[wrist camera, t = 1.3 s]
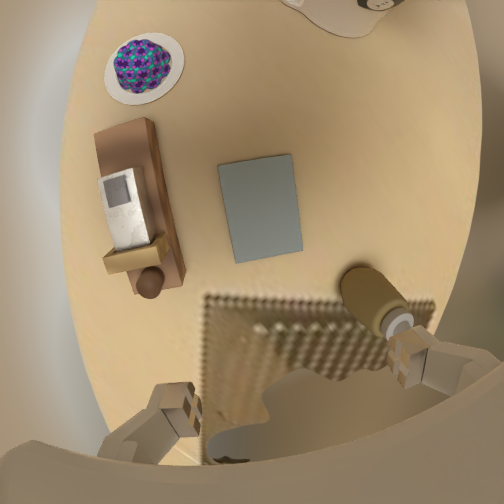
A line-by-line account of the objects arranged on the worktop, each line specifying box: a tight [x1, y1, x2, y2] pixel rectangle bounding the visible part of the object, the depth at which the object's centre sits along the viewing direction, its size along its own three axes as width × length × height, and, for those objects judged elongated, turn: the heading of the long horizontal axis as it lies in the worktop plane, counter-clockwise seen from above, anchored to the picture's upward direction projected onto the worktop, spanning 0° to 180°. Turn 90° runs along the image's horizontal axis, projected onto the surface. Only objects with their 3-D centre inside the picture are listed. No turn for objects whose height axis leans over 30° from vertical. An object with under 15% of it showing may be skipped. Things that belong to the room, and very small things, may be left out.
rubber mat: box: [218, 154, 303, 264], centre depth 37 cm, size 14×10×1 cm
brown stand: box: [94, 117, 186, 299], centre depth 31 cm, size 22×7×11 cm, turn 9°
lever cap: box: [97, 167, 158, 253], centre depth 29 cm, size 10×4×5 cm, turn 9°
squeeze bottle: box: [340, 267, 414, 340], centre depth 35 cm, size 8×8×18 cm
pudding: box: [104, 33, 184, 105], centre depth 27 cm, size 12×12×5 cm
